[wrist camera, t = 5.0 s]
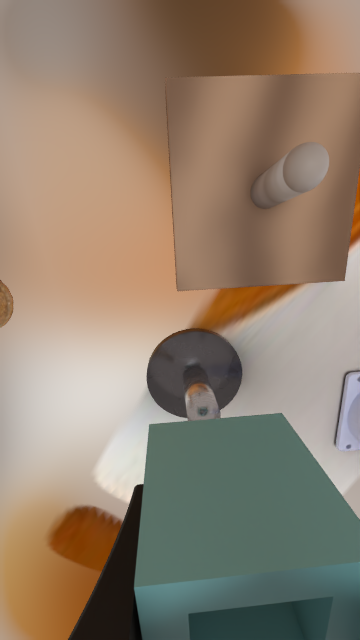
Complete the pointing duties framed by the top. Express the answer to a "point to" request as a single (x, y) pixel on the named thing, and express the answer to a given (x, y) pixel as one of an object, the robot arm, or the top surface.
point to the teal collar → (243, 536)
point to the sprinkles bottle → (5, 304)
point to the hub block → (262, 177)
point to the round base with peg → (194, 374)
